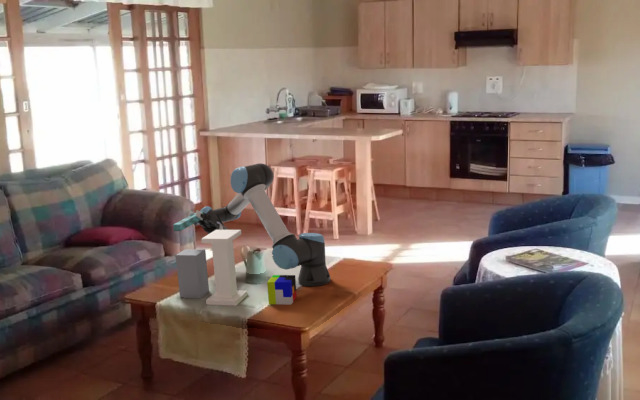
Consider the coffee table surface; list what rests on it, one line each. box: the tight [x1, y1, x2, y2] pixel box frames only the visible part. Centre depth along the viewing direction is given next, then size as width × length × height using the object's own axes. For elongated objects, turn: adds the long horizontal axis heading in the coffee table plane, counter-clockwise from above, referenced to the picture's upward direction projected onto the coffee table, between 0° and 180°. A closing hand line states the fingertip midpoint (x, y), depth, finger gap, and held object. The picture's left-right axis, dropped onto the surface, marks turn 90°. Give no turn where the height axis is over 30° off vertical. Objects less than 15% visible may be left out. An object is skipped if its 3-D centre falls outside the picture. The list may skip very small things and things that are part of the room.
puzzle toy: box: [266, 274, 297, 305], centre depth 303 cm, size 10×10×10 cm
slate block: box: [175, 248, 210, 299], centre depth 317 cm, size 10×10×20 cm
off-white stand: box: [201, 229, 249, 306], centre depth 306 cm, size 16×14×30 cm
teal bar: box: [172, 210, 204, 232], centre depth 314 cm, size 26×3×3 cm, turn 165°
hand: (193, 213), depth 318 cm, fingers closed on teal bar, 3 cm apart
